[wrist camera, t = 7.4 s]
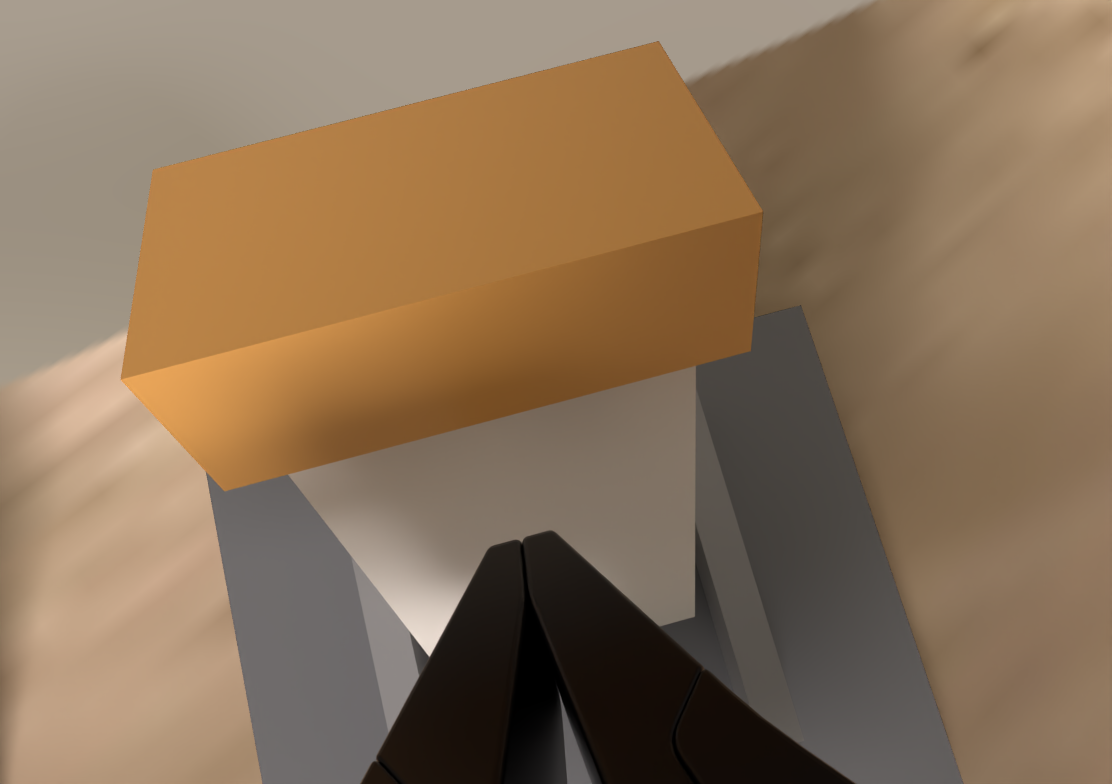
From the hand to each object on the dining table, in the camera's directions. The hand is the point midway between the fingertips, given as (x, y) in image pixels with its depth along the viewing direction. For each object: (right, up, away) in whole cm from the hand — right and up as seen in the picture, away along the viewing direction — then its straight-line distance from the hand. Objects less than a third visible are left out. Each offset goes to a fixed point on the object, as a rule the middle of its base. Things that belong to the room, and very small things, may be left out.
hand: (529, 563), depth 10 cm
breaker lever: (0, -2, +7) cm, 8 cm away
